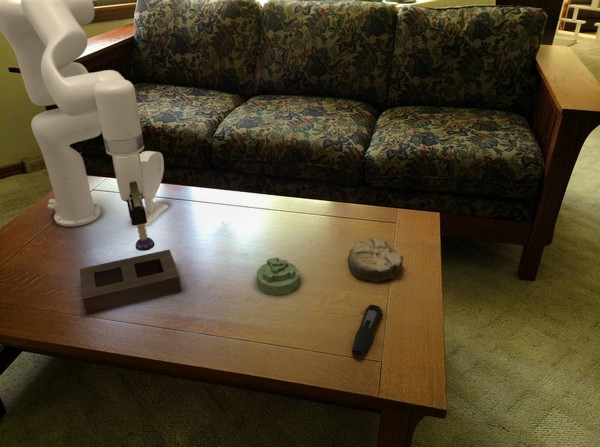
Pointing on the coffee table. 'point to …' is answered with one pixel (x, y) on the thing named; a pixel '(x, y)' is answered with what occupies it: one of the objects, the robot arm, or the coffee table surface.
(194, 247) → the coffee table surface
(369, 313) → the electric trimmer
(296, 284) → the decorative artifact
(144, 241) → the toy lamp
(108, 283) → the frame
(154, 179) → the heart sculpture
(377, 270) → the stone
